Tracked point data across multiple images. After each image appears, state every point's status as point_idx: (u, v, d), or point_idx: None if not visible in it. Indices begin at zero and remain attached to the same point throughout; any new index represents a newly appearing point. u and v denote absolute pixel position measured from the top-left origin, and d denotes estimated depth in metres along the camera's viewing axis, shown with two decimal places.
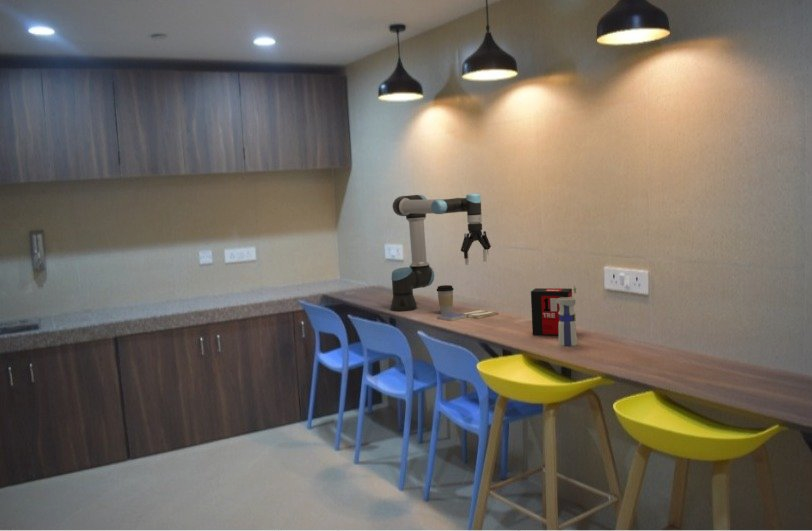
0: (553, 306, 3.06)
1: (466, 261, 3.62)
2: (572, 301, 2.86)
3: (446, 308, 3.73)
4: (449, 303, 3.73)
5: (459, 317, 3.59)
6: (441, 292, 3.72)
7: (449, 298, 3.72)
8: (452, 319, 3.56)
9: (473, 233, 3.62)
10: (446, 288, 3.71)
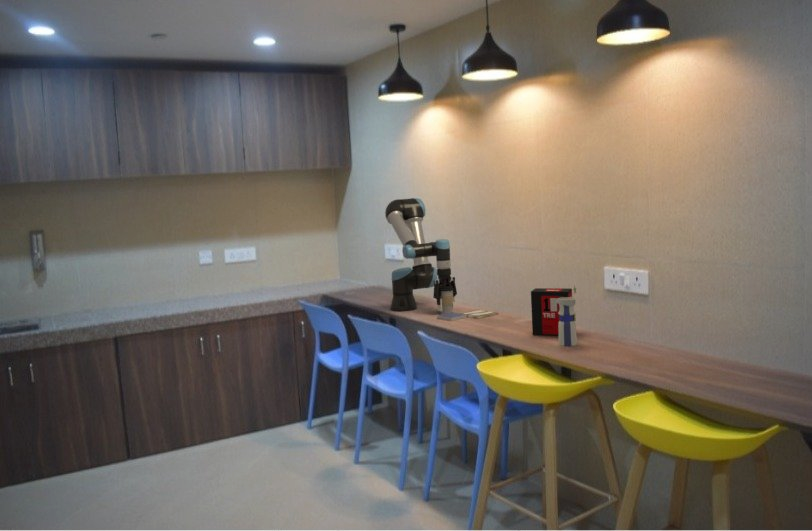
0: (553, 306, 3.06)
1: (439, 307, 3.73)
2: (572, 301, 2.86)
3: (446, 308, 3.73)
4: (449, 303, 3.73)
5: (459, 317, 3.59)
6: (441, 292, 3.72)
7: (449, 298, 3.72)
8: (452, 319, 3.56)
9: (442, 278, 3.72)
10: (446, 288, 3.71)
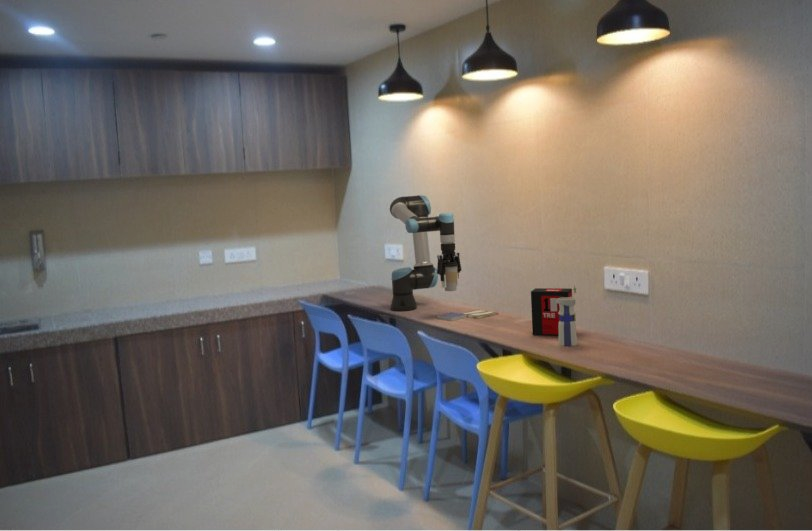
0: (553, 306, 3.06)
1: (443, 284, 3.58)
2: (572, 301, 2.86)
3: (450, 285, 3.57)
4: (453, 279, 3.57)
5: (459, 317, 3.59)
6: (445, 268, 3.56)
7: (454, 274, 3.57)
8: (452, 319, 3.56)
9: (446, 253, 3.56)
10: (450, 263, 3.56)
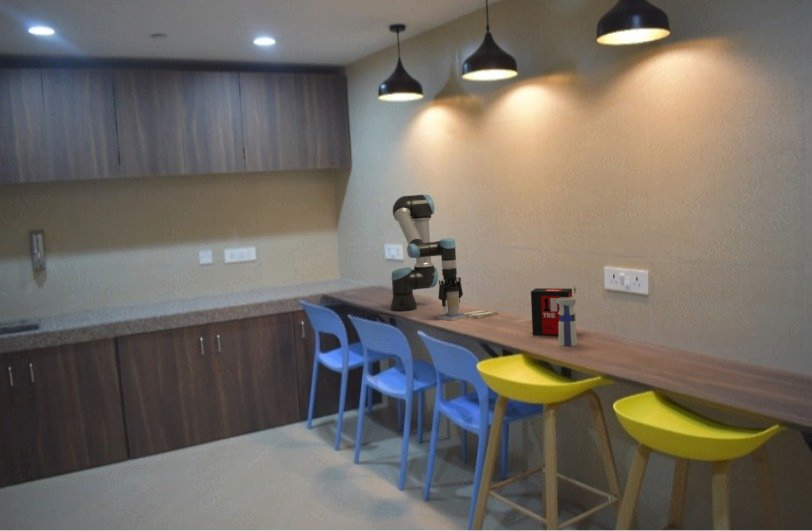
0: (553, 306, 3.06)
1: (444, 309, 3.59)
2: (572, 301, 2.86)
3: (451, 310, 3.59)
4: (455, 304, 3.59)
5: (459, 317, 3.59)
6: None
7: (455, 299, 3.58)
8: (452, 319, 3.56)
9: (447, 278, 3.58)
10: (452, 288, 3.57)
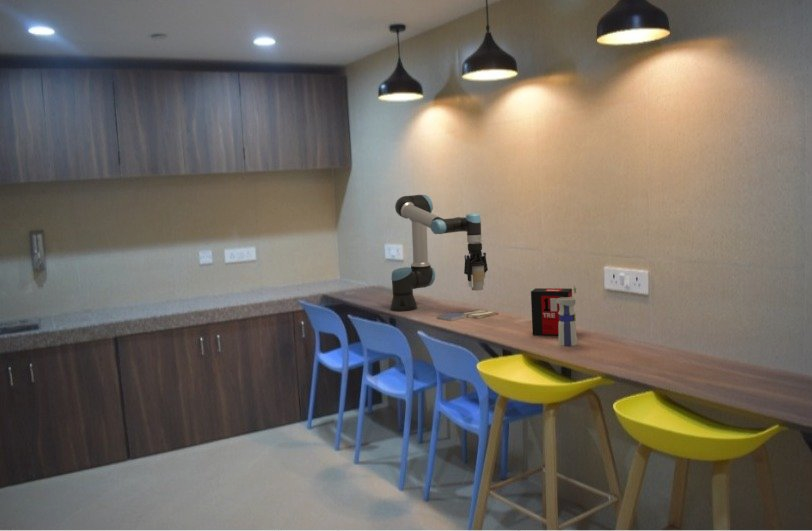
0: (553, 306, 3.06)
1: (470, 283, 3.62)
2: (572, 301, 2.86)
3: (477, 284, 3.61)
4: (480, 279, 3.61)
5: (459, 317, 3.59)
6: (472, 267, 3.60)
7: (481, 274, 3.61)
8: (452, 319, 3.56)
9: (473, 253, 3.60)
10: (477, 263, 3.59)
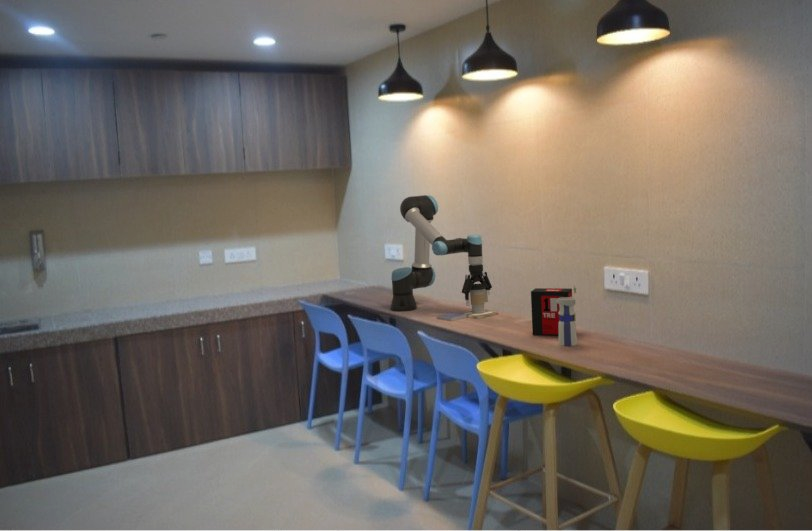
0: (553, 306, 3.06)
1: (467, 302, 3.61)
2: (572, 301, 2.86)
3: (478, 308, 3.63)
4: (481, 302, 3.63)
5: (459, 317, 3.59)
6: (473, 291, 3.62)
7: (482, 297, 3.62)
8: (452, 319, 3.56)
9: (474, 274, 3.62)
10: (478, 286, 3.61)
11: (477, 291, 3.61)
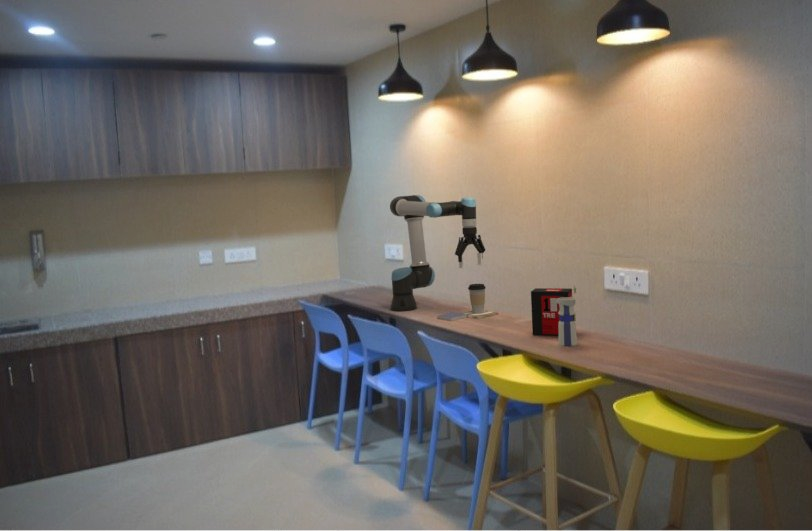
0: (553, 306, 3.06)
1: (460, 265, 3.63)
2: (572, 301, 2.86)
3: (478, 308, 3.63)
4: (481, 302, 3.63)
5: (459, 317, 3.59)
6: (473, 291, 3.62)
7: (482, 297, 3.62)
8: (452, 319, 3.56)
9: (467, 237, 3.63)
10: (478, 287, 3.61)
11: (477, 291, 3.61)
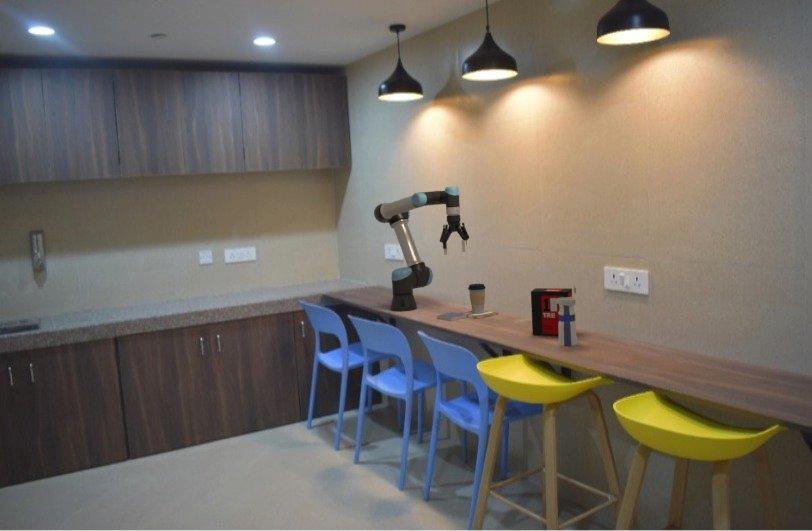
0: (553, 306, 3.06)
1: (445, 251, 3.77)
2: (572, 301, 2.86)
3: (478, 308, 3.63)
4: (481, 302, 3.63)
5: (459, 317, 3.59)
6: (473, 291, 3.62)
7: (482, 297, 3.62)
8: (452, 319, 3.56)
9: (452, 224, 3.77)
10: (478, 287, 3.61)
11: (477, 291, 3.61)
